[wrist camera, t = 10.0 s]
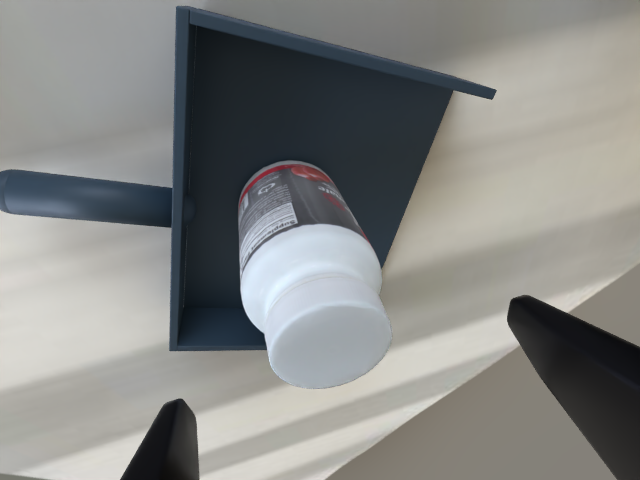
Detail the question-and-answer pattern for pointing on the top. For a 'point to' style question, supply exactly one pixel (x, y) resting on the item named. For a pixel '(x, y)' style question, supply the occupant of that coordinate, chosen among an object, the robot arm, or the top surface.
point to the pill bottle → (309, 277)
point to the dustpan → (258, 156)
